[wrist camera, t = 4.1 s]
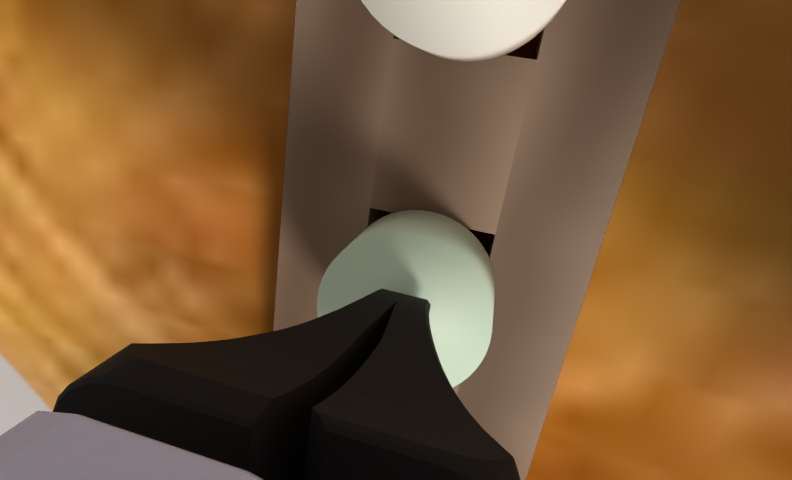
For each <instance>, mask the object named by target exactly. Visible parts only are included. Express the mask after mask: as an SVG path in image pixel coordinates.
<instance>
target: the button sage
mask: <svg viewBox="0 0 792 480" xmlns="http://www.w3.org/2000/svg"><path fill="white" fill-rule="evenodd" d="M379 289H386V290H390V291H394V292H398V293H402V294H406V295H410V296H414V297H418V298H422V299H427V300H428V301H429V303H430V304H431V307H430V312H429V322H430V329H431V333H432V337H433V342H434V345H435V349H436V352H437V355H438V357H439V360H440V363H441V365H442V368H443V370H444V372H445V374H446V376H447V378H448V380H449V382H450V384H451V386H452V388H453V387H455V386H457V385H458V384H460V383H462V382H463V381H464V380H465V379H467V378H468V377H469V376H470V375H471V374H472V373H473V372H474V371H475V370H476V369H477V368H478V366H479V365H480V363H481V362H482V360H483V358H484V357H485V355H486V353H487V350H488V347H489V344H490V340H491V335H492V326H493V312H494V299H495V276H494V271H493V267H492V263H491V261H490V259H489V256H488V254H487V252H486V251H485V249H484V247H483V245H482V244H481V243H480V242H479V240H478V239H477V238H476V237H475V236H474V235H473V234H472V233H471V232H470V231H469V230H468V229H467V228H465V227H464V226H463V225H461V224H460V223H458V222H457V221H455V220H453V219H451V218H449V217H447V216H444V215H442V214H438V213H435V212H431V211H424V210H406V211H399V212H395V213H391V214H389V215H386V216H384V217H382V218H380V219H378V220H377V221H375V222H374V223H372V224H371V225H370V226H368V227H367V228H366V229H365V230H364V231H363V232H362V233H361V234H360V235H359V236H358V237H357V238H356V239H354V240H353V241H352V242H351V243H350V244H349V245H348V246H347V247H346V248H345V249H344V250H343V251H342V252H341V253H340V254H339V255H338V256H337V257H336V258H335V259H334V260H333V261H332V263H331V264H330V265H329V267H328V268H327V270H326V272H325V274H324V276H323V278H322V280H321V283H320V286H319V291H318V296H317V315H318V317H321V316H323V315H326V314H328V313H330V312H333V311H335V310H338V309H340V308H342V307H344V306H346V305H349V304H351V303H353V302H355V301H357V300H359V299H361V298H363V297H365V296H367V295H369V294H371V293H373V292H375V291H377V290H379Z"/></svg>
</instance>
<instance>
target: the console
mask: <svg viewBox="0 0 792 480" xmlns="http://www.w3.org/2000/svg"><path fill="white" fill-rule="evenodd" d="M680 2H681V0H566V1H565V3H564V5H563V6H562V8H561V9H560V10H559V12H558V13H557V14H556V16H555V17H554V18H553V20H552V21H551V22H550V23H549V24H548V25H547V26H546V27H545V28H544V29H543V30H542V31H541V35H540V39H539V43H538V47H537V51H536V56H535V59H528V58H521V57H515V56H508V55H502V56H499V57H496V58H493V59H489V60H484V61H475V62H461V61H452V60H448V59H443V58H440V57H438V56H435V55H432V54H430V53H428V52H426V51H424V50H421V49H419V48H417V47H415V46H413V45H411V44H409V43H407V42H405V41H404V40H402V39H400V38H398V37H397V36H395V35H394V34H393V33H391V32H390V31H389V30H387V29H386V28H385V27H383V26H382V25H381V24H380V23H379V22H378V21H377V20H376V19H375V18H374V17H373V16H372V14H371V13H370V12H369V10H368V9H367V8H366V6H365V5H364V4H363V3H362V1H361V0H296V12H295V26H294V40H293V55H292V69H291V83H290V98H289V112H288V126H287V140H286V155H285V169H284V183H283V198H282V212H281V226H280V241H279V255H278V269H277V284H276V298H275V312H274V326H273V331H277V330H281V329H285V328H288V327H292V326H295V325H299V324H302V323H305V322H308V321H311V320H313V319H316V318H318V315H317V296H318V291H319V286H320V283H321V280H322V278H323V276H324V274H325V272H326V270H327V268H328V267H329V265H330V264H331V263H332V261H333V260H334V259H335V258H336V257H337V256H338V255H339V254H340V253H341V252H342V251H343V250H344V249H345V248H346V247H347V246H348V245H349V244H350V243H351V242H352V241H353V240H354V239H356V238H357V237H358V236H359V235H360V234H361V233H362V232H363V231H364V230H365V229H366V228H367V227H368V226H370V225H371V224H372V223H374V222H375V221H377V220H378V219H380V218H382V216H383V211H387V212H392V213H395V212H399V211H406V210H424V211H431V212H435V213H438V214H442V215H444V216H447V217H449V218H451V219H453V220H455V221H457V222H458V223H460V224H461V225H463V226H464V227H465V228H467V229H471V230H476V231H480V232H485V233H490V234H493V237H492V241H491V246H490V250H489V254H488V256H489V259H490V261H491V263H492V267H493V271H494V276H495V299H494V312H493V326H492V335H491V340H490V344H489V347H488V350H487V353H486V355H485V357H484V358H483V360H482V362H481V363H480V365H479V366H478V368H477V369H476V370H475V371H474V372H473V373H472V374H471V375H470V376H469V377H468V378H467V379H465V380H464V381H463V382H462V383H460V384H458V385H457V386H455V387H453V389H454V391H455V393H456V395H457V396H458V398H459V399H460V400H461V402H462V403H463V405H464V406H465V408H466V409H467V410H468V412H469V413H470V414H471V415H472V416H473V418H474V419H475V420H476V421H477V422H478V423H479V424H480V426H481V427H482V428H483V429H484V430H485V431H486V432H487V433H488V434H489V435H490V436H491V437H492V438H493V439H495V440H496V441H497V442H498V443H499V444H500V445H501V446H502V447H503V448H504V449H505V450H506V451H507V452H509V453H510V454H511V455H512V456H513V458H514V460H515V462H516V465H517V469H518V472H519V476H520V480H525V479H526V476H527V473H528V470H529V467H530V464H531V460H532V457H533V454H534V451H535V448H536V445H537V442H538V439H539V436H540V433H541V430H542V427H543V423H544V420H545V417H546V414H547V411H548V408H549V405H550V402H551V399H552V396H553V393H554V390H555V387H556V383H557V380H558V377H559V374H560V371H561V368H562V365H563V362H564V359H565V356H566V353H567V350H568V346H569V343H570V340H571V337H572V334H573V331H574V328H575V325H576V322H577V319H578V316H579V313H580V310H581V306H582V303H583V300H584V297H585V294H586V291H587V288H588V285H589V282H590V279H591V276H592V273H593V269H594V266H595V263H596V260H597V257H598V254H599V251H600V248H601V245H602V242H603V239H604V236H605V233H606V229H607V226H608V223H609V220H610V217H611V214H612V211H613V208H614V205H615V202H616V199H617V196H618V192H619V189H620V186H621V183H622V180H623V177H624V174H625V171H626V168H627V165H628V162H629V159H630V156H631V152H632V149H633V146H634V143H635V140H636V137H637V134H638V131H639V128H640V125H641V122H642V119H643V115H644V112H645V109H646V106H647V103H648V100H649V97H650V94H651V91H652V88H653V85H654V82H655V79H656V75H657V72H658V69H659V66H660V63H661V60H662V57H663V54H664V51H665V48H666V45H667V42H668V38H669V35H670V32H671V29H672V26H673V23H674V20H675V17H676V14H677V11H678V8H679V5H680Z"/></svg>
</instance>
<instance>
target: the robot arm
mask: <svg viewBox="0 0 792 480" xmlns="http://www.w3.org/2000/svg"><path fill="white" fill-rule="evenodd" d="M430 307H431V304H430V303H429V301H428V300H427V299H422V298H418V297H414V296H410V295H406V294H402V293H398V292H394V291H390V290H386V289H379V290H377V291H375V292H373V293H371V294H369V295H367V296H365V297H363V298H361V299H359V300H357V301H355V302H353V303H351V304H349V305H346V306H344V307H342V308H340V309H338V310H335V311H333V312H330V313H328V314H326V315H323V316H321V317H318V318H316V319H313V320H311V321H308V322H305V323H302V324H299V325H295V326H292V327H288V328H285V329H281V330H277V331H273V332H268V333H263V334H258V335H252V336H247V337H242V338H236V339H228V340H219V341H209V342H196V343H163V344H134V343H132V344H130V345H128V346H127V347H125V348H124V349H122V350H121V351H119V352H118V353H116V354H115V355H113V356H112V357H110V358H109V359H107V360H106V361H104V362H103V363H101V364H100V365H98V366H97V367H95V368H94V369H92V370H91V371H89V372H88V373H86V374H85V375H83V376H82V377H80V378H79V379H77V380H76V381H74V382H73V383H71V384H70V385H68V386H67V387H66V389H65V390H64V391H63V392H62V393H61V394H60V395H59V396H58V399H57V401H56V404H55V407H54V410H53V412H47V411H37V412H35V413H34V414H32V415H31V416H29V417H28V418H26V419H25V420H23V421H22V422H20V423H19V424H17V425H16V426H14V427H13V428H11V429H10V430H8V431H7V432H5V433H4V434H2V435H1V436H0V480H520V476H519V472H518V469H517V465H516V462H515V460H514V458H513V456H512V455H511V454H510V453H509V452H507V451H506V450H505V449H504V448H503V447H502V446H501V445H500V444H499V443H498V442H497V441H496V440H495V439H493V438H492V437H491V436H490V435H489V434H488V433H487V432H486V431H485V430H484V429H483V428H482V427H481V426H480V424H479V423H478V422H477V421H476V420H475V419H474V418H473V416H472V415H471V414H470V413H469V412H468V410H467V409H466V408H465V406H464V405H463V403H462V402H461V400H460V399H459V398H458V396H457V395H456V393H455V391H454V389H453V388H452V386H451V384H450V382H449V380H448V378H447V376H446V374H445V372H444V370H443V368H442V365H441V363H440V360H439V357H438V355H437V352H436V349H435V345H434V342H433V337H432V333H431V329H430V322H429V312H430Z"/></svg>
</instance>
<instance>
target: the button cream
mask: <svg viewBox="0 0 792 480" xmlns="http://www.w3.org/2000/svg"><path fill="white" fill-rule="evenodd" d="M361 1H362V3H363V4H364V5H365V6H366V8H367V9H368V10H369V12H370V13H371V14H372V16H373V17H374V18H375V19H376V20H377V21H378V22H379V23H380V24H381V25H382V26H383V27H385V28H386V29H387V30H389V31H390V32H391V33H393V34H394V35H395V36H397V37H398V38H400V39H402V40H404V41H405V42H407V43H409V44H411V45H413V46H415V47H417V48H419V49H421V50H424V51H426V52H428V53H430V54H432V55H435V56H438V57H440V58H443V59H448V60H452V61H461V62H475V61H484V60H489V59H493V58H496V57H499V56H502V55H505V54H507V53H510V52H512V51H514V50H516V49H518V48H519V47H521V46H523V45H524V44H526V43H527V42H529V41H530V40H532V39H533V38H534V37H535V36H536V35H538V34H539V33H540V32H541V31H542V30H543V29H544V28H545V27H546V26H547V25H548V24H549V23H550V22H551V21H552V20H553V18H554V17H555V16H556V14H557V13H558V12H559V10H560V9H561V8H562V6H563V5H564V3H565V1H566V0H361Z"/></svg>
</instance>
